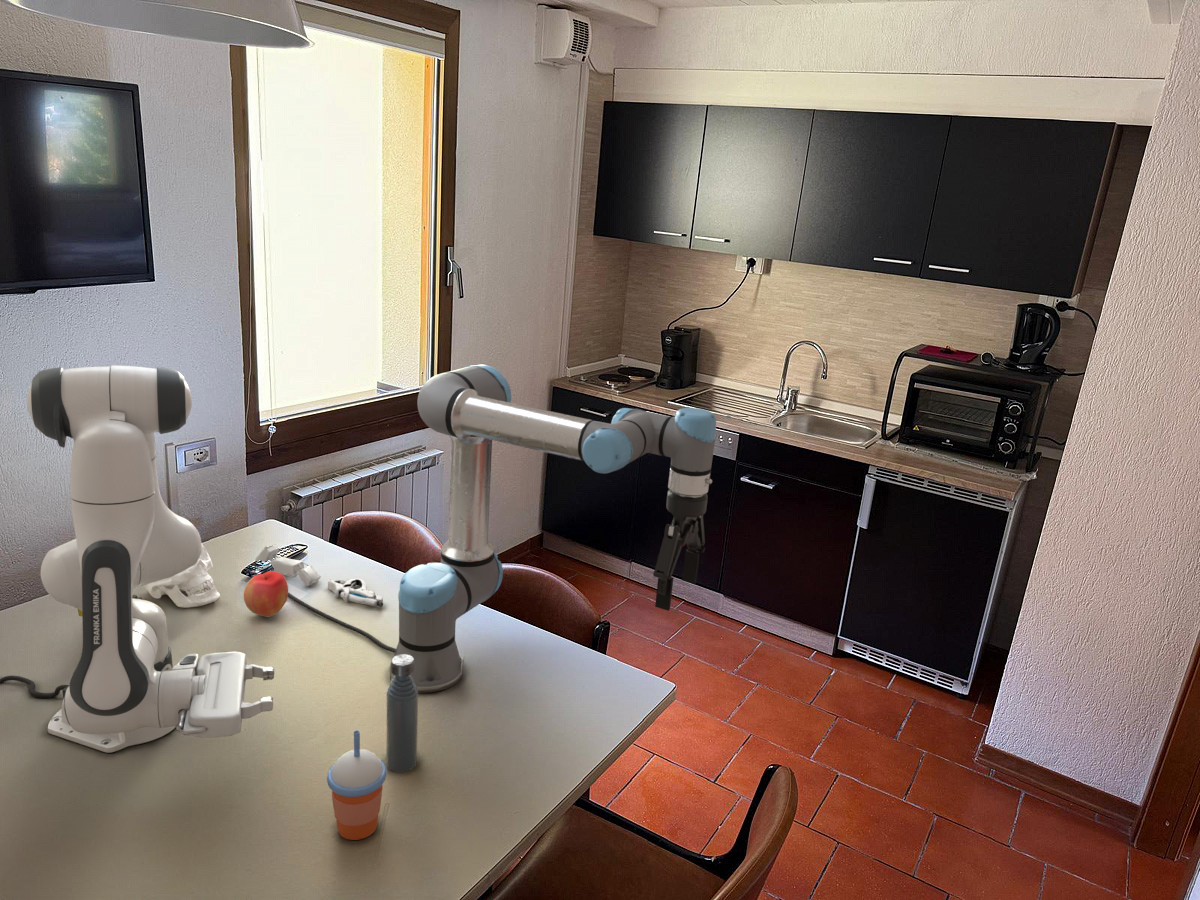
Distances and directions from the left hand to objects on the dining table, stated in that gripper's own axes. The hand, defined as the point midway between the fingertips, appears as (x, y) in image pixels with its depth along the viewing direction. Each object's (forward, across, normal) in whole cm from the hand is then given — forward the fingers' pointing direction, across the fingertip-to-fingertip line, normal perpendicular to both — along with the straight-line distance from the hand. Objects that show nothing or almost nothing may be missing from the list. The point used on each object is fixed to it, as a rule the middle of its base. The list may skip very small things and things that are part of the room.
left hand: (273, 687), depth 143 cm
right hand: (+73, +1, -10) cm, 74 cm away
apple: (-3, +60, +17) cm, 62 cm away
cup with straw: (+12, -16, +18) cm, 27 cm away
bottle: (+21, -1, +18) cm, 28 cm away
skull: (-23, +73, +17) cm, 78 cm away
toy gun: (+18, +65, +17) cm, 70 cm away
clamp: (+1, +80, +17) cm, 82 cm away
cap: (+21, -1, -3) cm, 21 cm away
